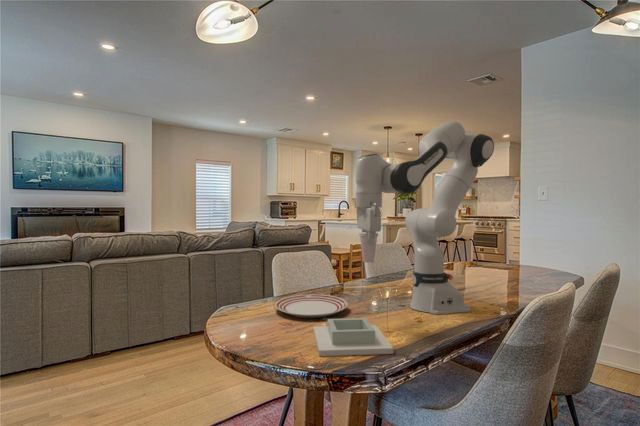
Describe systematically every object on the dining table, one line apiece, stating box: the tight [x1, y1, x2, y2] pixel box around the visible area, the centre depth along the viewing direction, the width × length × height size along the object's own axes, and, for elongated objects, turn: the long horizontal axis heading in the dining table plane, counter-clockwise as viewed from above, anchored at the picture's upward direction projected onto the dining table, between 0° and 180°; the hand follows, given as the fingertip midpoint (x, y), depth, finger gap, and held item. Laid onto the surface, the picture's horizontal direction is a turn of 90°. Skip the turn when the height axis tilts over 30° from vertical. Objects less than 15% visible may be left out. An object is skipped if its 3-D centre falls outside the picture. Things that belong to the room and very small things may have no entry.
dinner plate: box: [274, 293, 348, 319], centre depth 143 cm, size 28×27×3 cm
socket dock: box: [312, 317, 394, 357], centre depth 109 cm, size 20×20×5 cm
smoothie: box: [358, 230, 379, 264], centre depth 126 cm, size 6×6×14 cm
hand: (368, 243), depth 126 cm, fingers closed on smoothie, 6 cm apart
